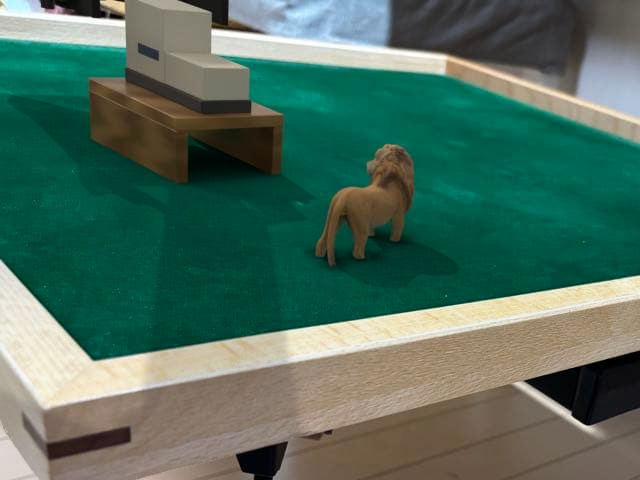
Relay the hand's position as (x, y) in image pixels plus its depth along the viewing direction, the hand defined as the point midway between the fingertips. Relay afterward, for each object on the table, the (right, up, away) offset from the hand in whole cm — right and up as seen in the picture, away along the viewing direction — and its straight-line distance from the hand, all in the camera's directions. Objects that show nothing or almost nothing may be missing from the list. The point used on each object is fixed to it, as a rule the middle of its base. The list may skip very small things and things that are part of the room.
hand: (164, 7), depth 86 cm
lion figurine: (+21, -25, -7) cm, 33 cm away
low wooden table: (0, -14, +5) cm, 15 cm away
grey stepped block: (+1, -8, +2) cm, 8 cm away
